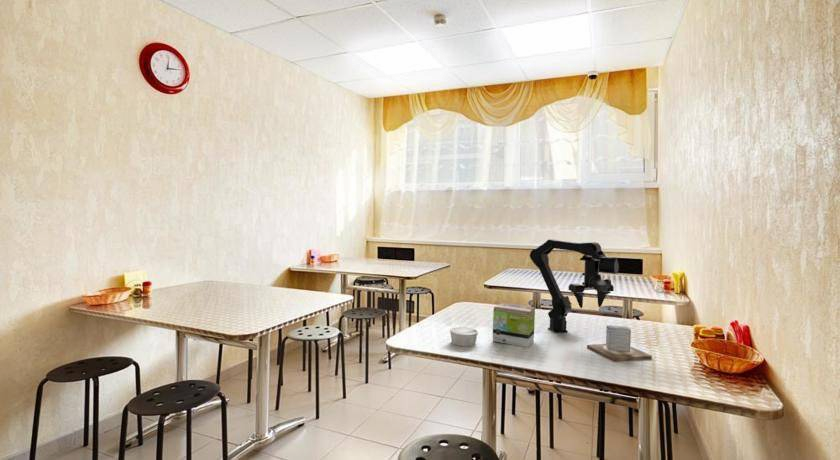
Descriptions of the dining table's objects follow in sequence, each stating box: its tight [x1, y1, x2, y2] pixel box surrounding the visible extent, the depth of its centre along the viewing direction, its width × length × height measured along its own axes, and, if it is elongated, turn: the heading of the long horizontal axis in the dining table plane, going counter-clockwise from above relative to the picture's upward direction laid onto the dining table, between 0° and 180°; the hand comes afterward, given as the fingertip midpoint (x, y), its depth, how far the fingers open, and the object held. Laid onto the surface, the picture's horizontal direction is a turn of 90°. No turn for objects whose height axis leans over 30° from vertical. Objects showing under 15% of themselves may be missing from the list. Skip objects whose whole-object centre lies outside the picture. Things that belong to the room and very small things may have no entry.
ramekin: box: [449, 326, 479, 348], centre depth 172 cm, size 11×11×5 cm
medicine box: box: [605, 325, 632, 352], centre depth 162 cm, size 8×4×9 cm, turn 78°
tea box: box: [492, 302, 536, 349], centre depth 175 cm, size 15×10×15 cm, turn 62°
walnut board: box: [586, 343, 653, 362], centre depth 163 cm, size 16×16×1 cm
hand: (590, 307), depth 183 cm, fingers open, 9 cm apart
